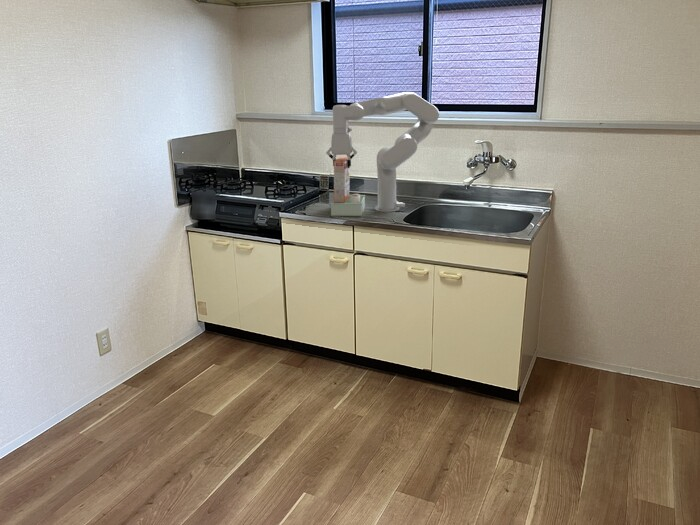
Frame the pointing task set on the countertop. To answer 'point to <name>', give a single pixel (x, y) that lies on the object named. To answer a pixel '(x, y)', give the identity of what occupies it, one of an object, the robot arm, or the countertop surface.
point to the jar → (355, 198)
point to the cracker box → (341, 180)
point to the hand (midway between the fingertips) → (342, 167)
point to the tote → (348, 207)
